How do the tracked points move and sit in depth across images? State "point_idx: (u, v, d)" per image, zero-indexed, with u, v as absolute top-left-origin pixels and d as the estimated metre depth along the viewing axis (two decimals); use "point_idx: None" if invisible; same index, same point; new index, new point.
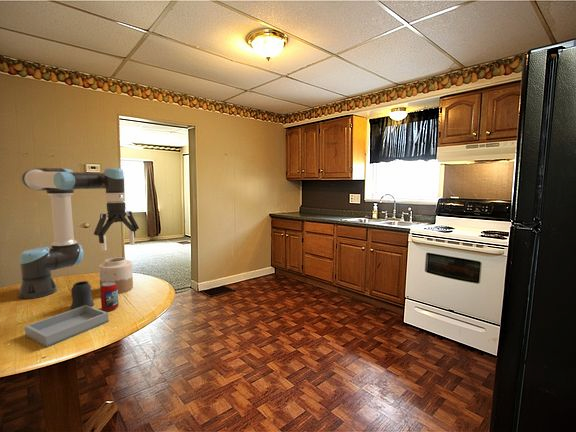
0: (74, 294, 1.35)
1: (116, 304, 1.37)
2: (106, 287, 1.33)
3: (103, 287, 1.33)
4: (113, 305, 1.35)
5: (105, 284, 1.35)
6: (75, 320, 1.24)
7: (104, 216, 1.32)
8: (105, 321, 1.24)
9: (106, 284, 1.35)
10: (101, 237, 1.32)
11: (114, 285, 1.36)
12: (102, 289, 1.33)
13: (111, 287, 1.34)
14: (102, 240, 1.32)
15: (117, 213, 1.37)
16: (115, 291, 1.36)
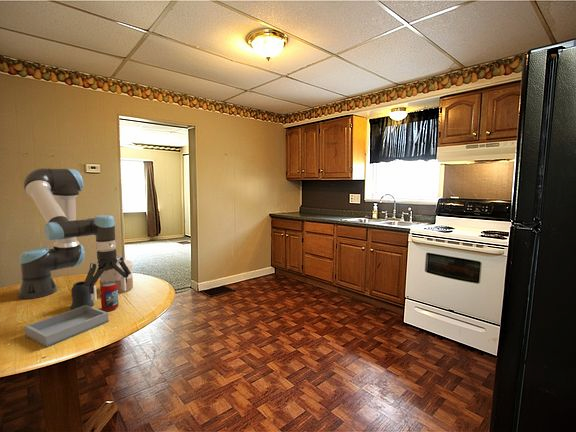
0: (74, 294, 1.35)
1: (116, 304, 1.37)
2: (106, 287, 1.33)
3: (103, 287, 1.33)
4: (113, 305, 1.35)
5: (105, 284, 1.35)
6: (75, 320, 1.24)
7: (94, 266, 1.29)
8: (105, 321, 1.24)
9: (106, 284, 1.35)
10: (91, 288, 1.28)
11: (114, 285, 1.36)
12: (102, 289, 1.33)
13: (111, 287, 1.34)
14: (92, 291, 1.29)
15: (108, 261, 1.34)
16: (115, 291, 1.36)
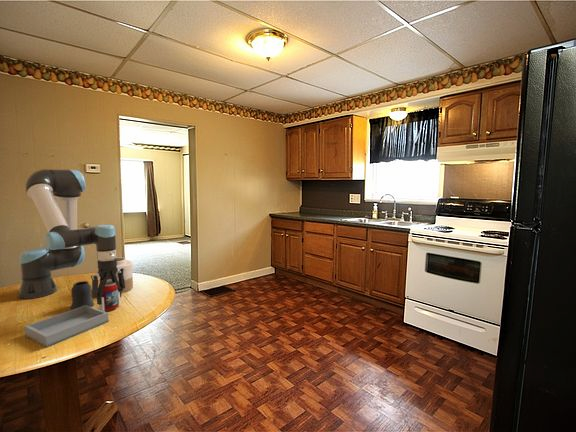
0: (74, 294, 1.35)
1: (116, 304, 1.37)
2: (106, 287, 1.33)
3: None
4: (113, 305, 1.35)
5: (105, 284, 1.35)
6: (75, 320, 1.24)
7: (95, 278, 1.30)
8: (105, 321, 1.24)
9: (106, 284, 1.35)
10: (99, 299, 1.32)
11: (114, 285, 1.36)
12: None
13: (111, 287, 1.34)
14: (100, 301, 1.32)
15: (108, 270, 1.34)
16: (115, 291, 1.36)
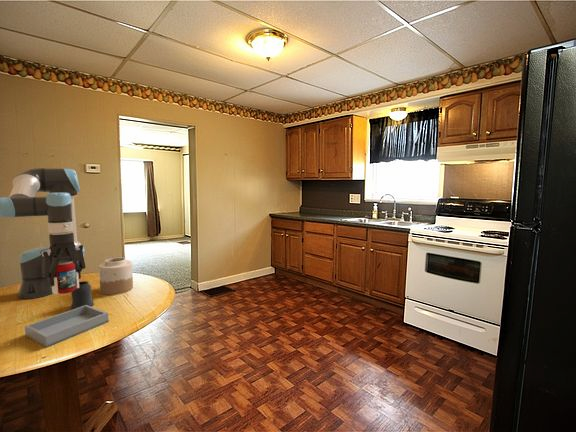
0: (74, 294, 1.35)
1: (73, 286, 1.16)
2: (59, 266, 1.13)
3: None
4: (69, 287, 1.15)
5: (60, 262, 1.15)
6: (75, 320, 1.24)
7: (45, 254, 1.09)
8: (105, 321, 1.24)
9: (61, 262, 1.15)
10: (51, 279, 1.12)
11: (70, 264, 1.15)
12: None
13: (66, 266, 1.14)
14: (52, 282, 1.12)
15: (63, 246, 1.14)
16: (72, 271, 1.15)
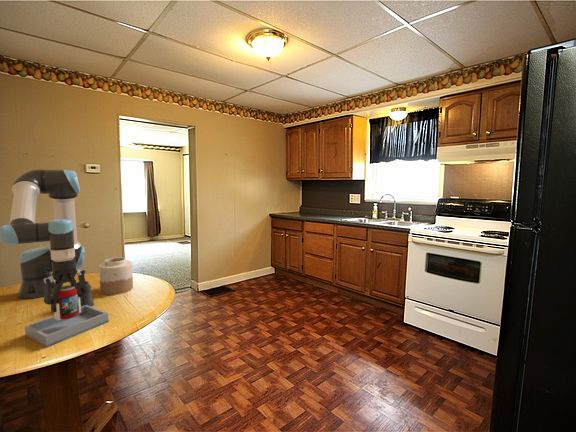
0: None
1: (75, 311, 1.17)
2: (62, 292, 1.14)
3: None
4: (71, 312, 1.16)
5: (62, 288, 1.16)
6: (75, 320, 1.24)
7: (48, 281, 1.10)
8: (105, 321, 1.24)
9: (63, 288, 1.16)
10: (53, 305, 1.13)
11: (72, 289, 1.17)
12: None
13: (68, 292, 1.15)
14: (54, 309, 1.13)
15: (65, 272, 1.15)
16: (74, 296, 1.17)
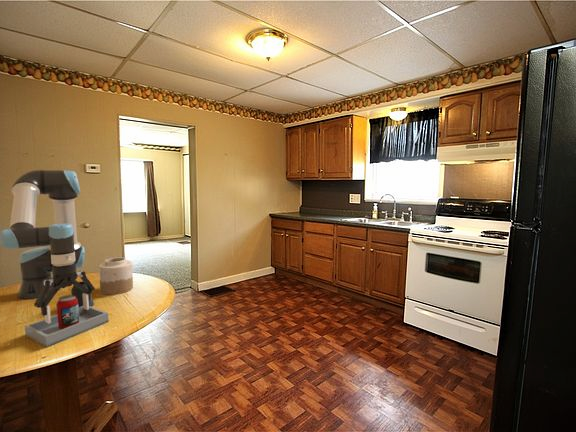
0: (74, 294, 1.35)
1: (76, 321, 1.18)
2: (63, 302, 1.15)
3: (60, 302, 1.15)
4: (72, 322, 1.17)
5: (63, 298, 1.17)
6: None
7: (47, 283, 1.10)
8: (105, 321, 1.24)
9: (64, 298, 1.17)
10: (43, 308, 1.10)
11: (73, 300, 1.17)
12: (58, 304, 1.15)
13: (69, 302, 1.16)
14: (45, 312, 1.11)
15: (65, 277, 1.16)
16: (75, 306, 1.17)
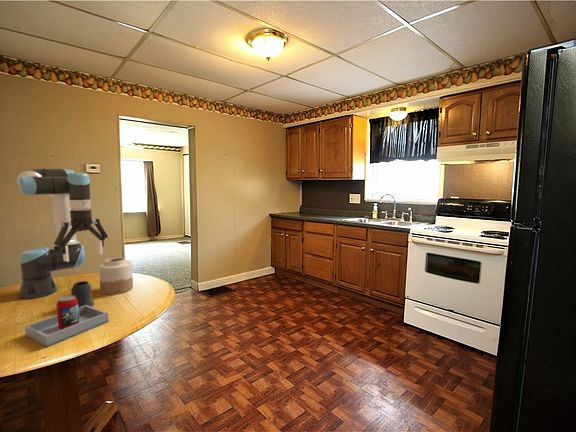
0: (74, 294, 1.35)
1: (76, 321, 1.18)
2: (63, 302, 1.15)
3: (59, 302, 1.15)
4: (72, 322, 1.17)
5: (63, 298, 1.17)
6: None
7: (66, 225, 1.22)
8: (105, 321, 1.24)
9: (64, 298, 1.17)
10: (62, 247, 1.22)
11: (73, 300, 1.17)
12: (58, 305, 1.15)
13: (69, 302, 1.16)
14: (64, 251, 1.23)
15: (82, 221, 1.27)
16: (75, 306, 1.17)
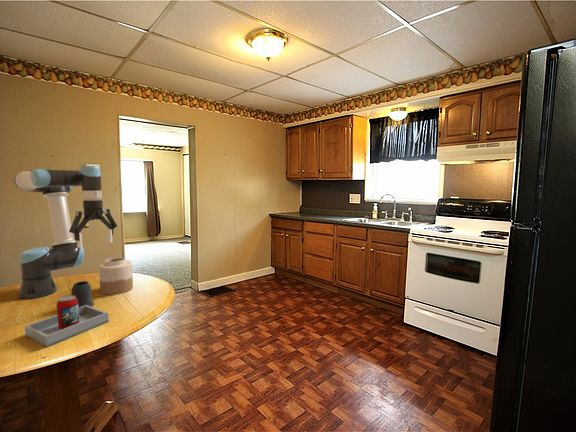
0: (74, 294, 1.35)
1: (76, 321, 1.18)
2: (63, 302, 1.15)
3: (59, 302, 1.15)
4: (72, 322, 1.17)
5: (63, 298, 1.17)
6: None
7: (80, 214, 1.31)
8: (105, 321, 1.24)
9: (64, 298, 1.17)
10: (77, 235, 1.31)
11: (73, 300, 1.17)
12: (58, 304, 1.15)
13: (69, 302, 1.16)
14: (78, 238, 1.32)
15: (94, 211, 1.37)
16: (75, 306, 1.17)
